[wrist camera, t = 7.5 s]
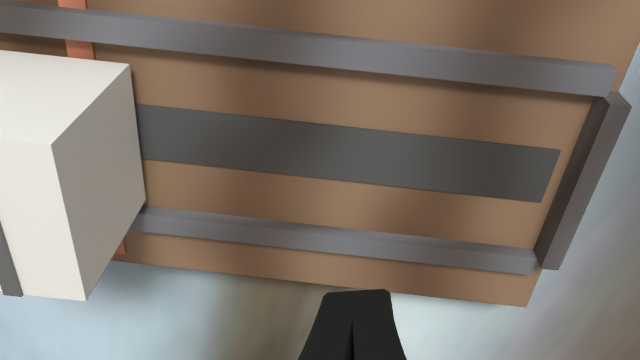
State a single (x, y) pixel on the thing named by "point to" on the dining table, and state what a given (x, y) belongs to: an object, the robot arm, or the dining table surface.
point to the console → (359, 132)
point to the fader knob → (64, 172)
